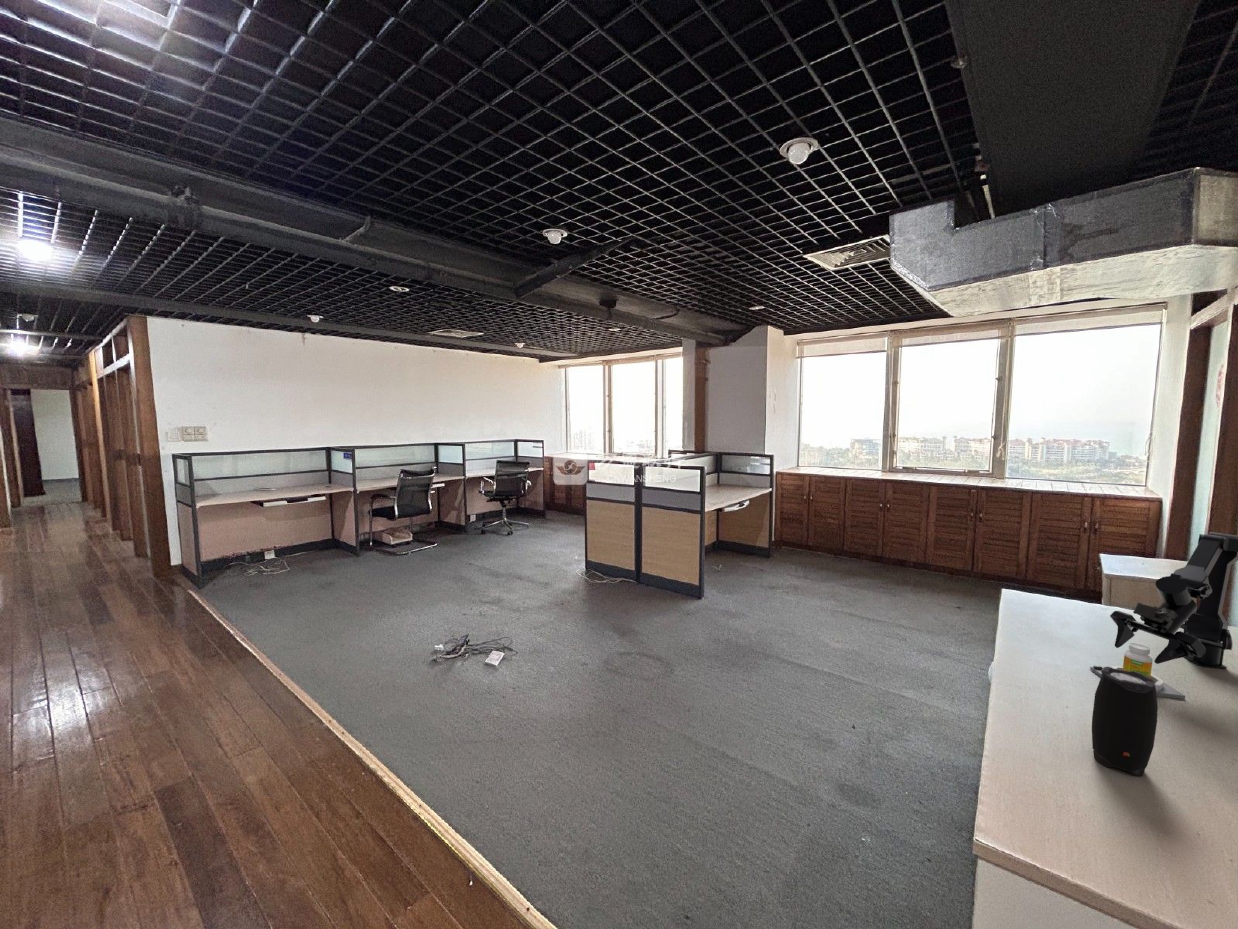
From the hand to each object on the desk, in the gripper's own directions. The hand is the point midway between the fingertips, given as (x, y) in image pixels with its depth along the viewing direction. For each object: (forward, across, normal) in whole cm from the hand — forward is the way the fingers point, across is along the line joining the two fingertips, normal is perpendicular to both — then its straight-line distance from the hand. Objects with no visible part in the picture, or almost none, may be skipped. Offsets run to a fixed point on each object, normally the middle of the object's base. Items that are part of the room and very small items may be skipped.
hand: (1135, 654), depth 137 cm
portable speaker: (+35, +26, -23) cm, 50 cm away
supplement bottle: (+5, 0, +6) cm, 8 cm away
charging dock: (+5, 0, +7) cm, 9 cm away
